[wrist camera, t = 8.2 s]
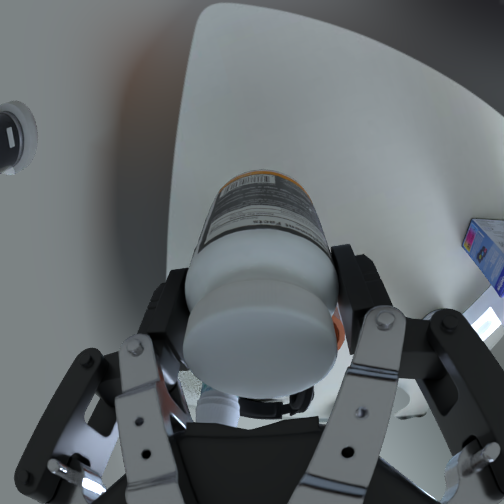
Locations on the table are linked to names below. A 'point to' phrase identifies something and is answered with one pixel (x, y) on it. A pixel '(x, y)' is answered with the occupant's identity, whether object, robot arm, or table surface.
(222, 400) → the bottle
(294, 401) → the headphones
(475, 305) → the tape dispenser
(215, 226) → the pill bottle
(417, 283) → the table surface
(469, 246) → the ink cartridge box
